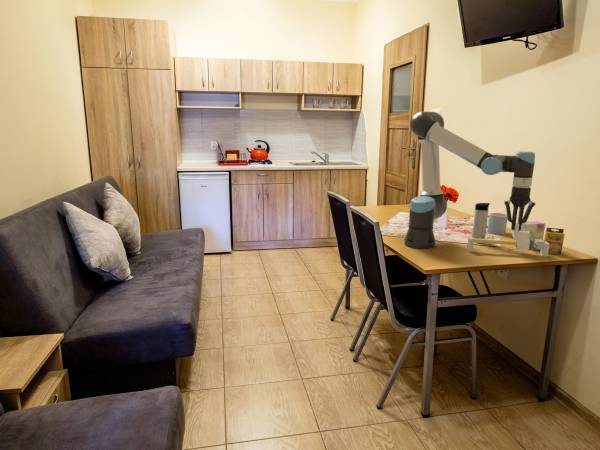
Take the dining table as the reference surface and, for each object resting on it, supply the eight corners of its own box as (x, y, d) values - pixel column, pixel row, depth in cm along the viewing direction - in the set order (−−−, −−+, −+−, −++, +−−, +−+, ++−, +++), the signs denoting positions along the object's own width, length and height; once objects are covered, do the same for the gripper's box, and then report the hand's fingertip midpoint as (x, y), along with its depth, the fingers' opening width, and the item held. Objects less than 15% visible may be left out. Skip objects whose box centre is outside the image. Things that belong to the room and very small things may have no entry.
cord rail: (468, 251, 195) (469, 237, 193) (467, 249, 199) (468, 235, 197) (547, 256, 188) (549, 241, 186) (544, 253, 192) (546, 239, 190)
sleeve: (516, 249, 190) (519, 232, 188) (514, 246, 194) (516, 230, 192) (528, 250, 189) (531, 233, 187) (525, 247, 193) (527, 230, 191)
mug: (505, 231, 232) (507, 213, 229) (505, 235, 224) (507, 217, 221) (479, 228, 238) (481, 211, 235) (477, 232, 230) (479, 214, 227)
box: (533, 243, 208) (536, 220, 206) (542, 246, 203) (545, 223, 200) (515, 244, 206) (518, 221, 203) (524, 248, 201) (527, 224, 198)
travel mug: (486, 243, 209) (491, 204, 204) (472, 242, 210) (477, 203, 205) (483, 239, 215) (488, 202, 210) (470, 239, 216) (474, 201, 211)
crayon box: (543, 252, 194) (547, 228, 191) (542, 250, 196) (545, 227, 193) (561, 254, 191) (565, 230, 188) (560, 252, 194) (563, 228, 191)
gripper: (508, 187, 183) (501, 238, 189) (540, 188, 180) (532, 240, 186) (503, 184, 190) (497, 234, 196) (534, 185, 187) (527, 235, 193)
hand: (514, 236), depth 191 cm, fingers closed
